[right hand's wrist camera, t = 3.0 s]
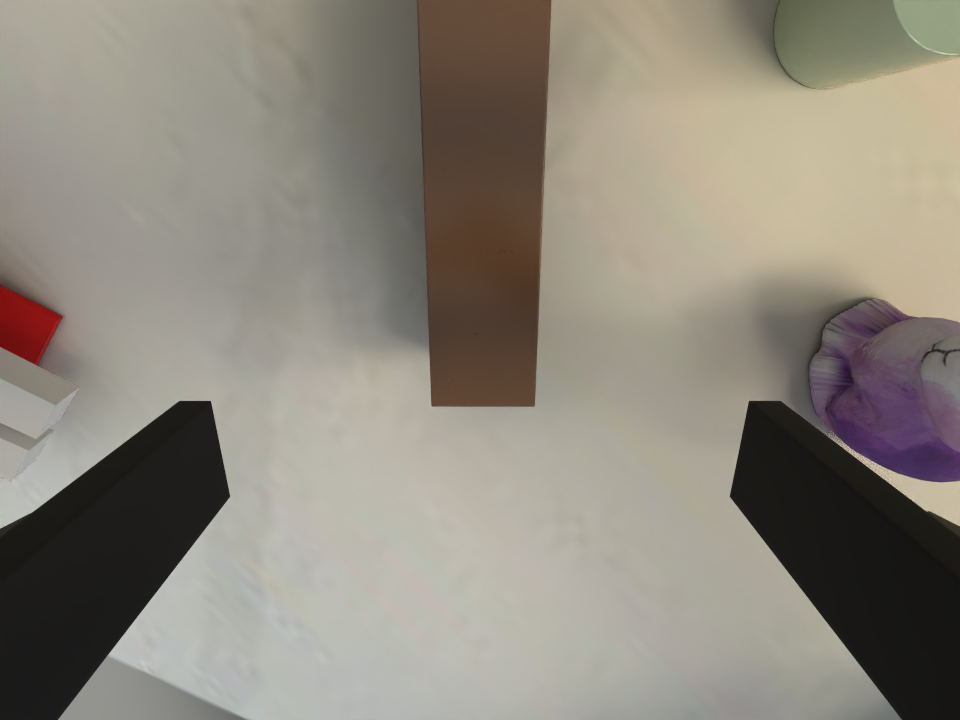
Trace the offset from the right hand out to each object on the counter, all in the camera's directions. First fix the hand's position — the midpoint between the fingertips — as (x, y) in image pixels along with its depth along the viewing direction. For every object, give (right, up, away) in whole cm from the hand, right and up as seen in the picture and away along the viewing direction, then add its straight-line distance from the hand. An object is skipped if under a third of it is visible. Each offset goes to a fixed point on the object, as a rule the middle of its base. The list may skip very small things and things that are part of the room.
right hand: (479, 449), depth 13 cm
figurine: (+24, +2, +20) cm, 31 cm away
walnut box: (0, +14, +15) cm, 21 cm away
